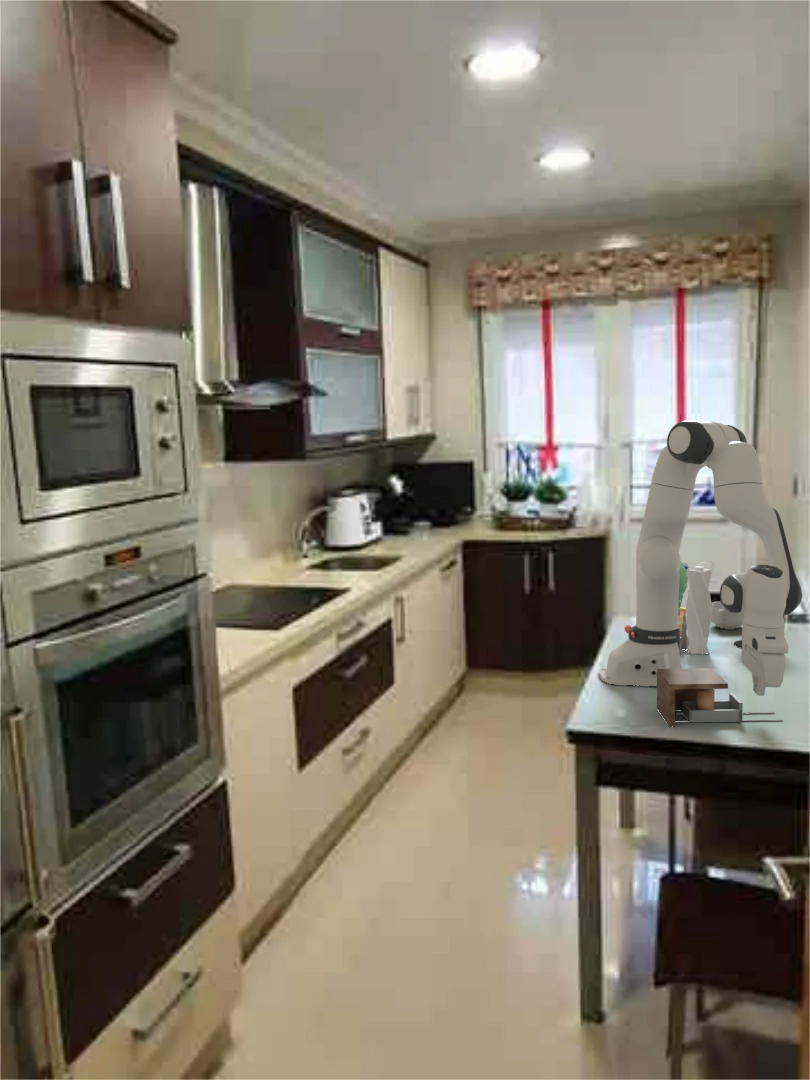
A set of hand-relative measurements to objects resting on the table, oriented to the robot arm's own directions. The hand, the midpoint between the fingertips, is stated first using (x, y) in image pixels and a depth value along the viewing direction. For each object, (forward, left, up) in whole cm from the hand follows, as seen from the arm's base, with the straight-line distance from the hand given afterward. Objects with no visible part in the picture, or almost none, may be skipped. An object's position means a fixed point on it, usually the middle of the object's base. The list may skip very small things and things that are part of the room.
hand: (758, 693), depth 192 cm
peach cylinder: (-12, 0, -5) cm, 13 cm away
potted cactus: (-1, +77, -6) cm, 78 cm away
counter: (-9, 0, -6) cm, 10 cm away
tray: (-11, 0, -6) cm, 12 cm away
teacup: (+19, +85, -6) cm, 88 cm away
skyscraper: (+2, +57, -6) cm, 58 cm away
